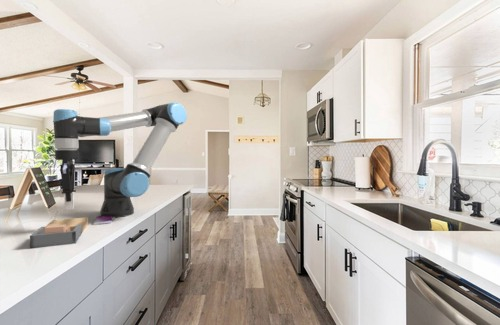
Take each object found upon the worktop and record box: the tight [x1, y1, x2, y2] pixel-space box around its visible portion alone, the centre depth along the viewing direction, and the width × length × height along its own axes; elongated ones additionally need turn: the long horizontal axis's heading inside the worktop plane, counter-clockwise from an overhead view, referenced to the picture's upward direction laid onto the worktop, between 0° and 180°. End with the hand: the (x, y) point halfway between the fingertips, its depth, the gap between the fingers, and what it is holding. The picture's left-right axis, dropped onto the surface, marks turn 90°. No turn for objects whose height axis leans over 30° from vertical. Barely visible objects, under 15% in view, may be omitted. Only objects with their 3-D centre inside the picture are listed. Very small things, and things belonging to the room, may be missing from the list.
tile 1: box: [45, 224, 66, 234], centre depth 83 cm, size 5×5×3 cm
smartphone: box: [92, 216, 114, 226], centre depth 113 cm, size 7×1×15 cm
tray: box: [29, 223, 83, 249], centre depth 86 cm, size 12×11×4 cm
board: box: [44, 216, 89, 234], centre depth 97 cm, size 12×14×3 cm
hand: (69, 209), depth 98 cm, fingers closed
